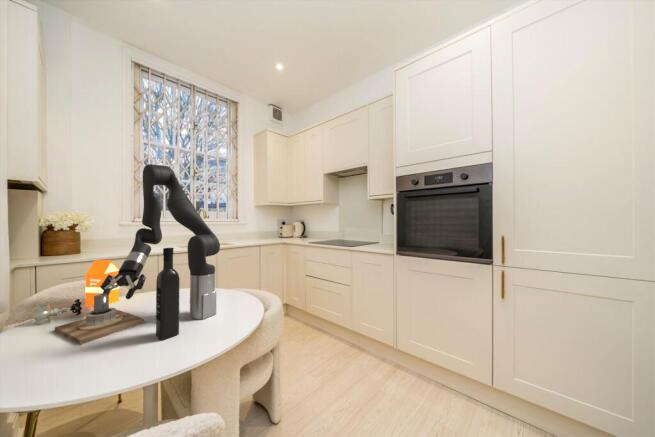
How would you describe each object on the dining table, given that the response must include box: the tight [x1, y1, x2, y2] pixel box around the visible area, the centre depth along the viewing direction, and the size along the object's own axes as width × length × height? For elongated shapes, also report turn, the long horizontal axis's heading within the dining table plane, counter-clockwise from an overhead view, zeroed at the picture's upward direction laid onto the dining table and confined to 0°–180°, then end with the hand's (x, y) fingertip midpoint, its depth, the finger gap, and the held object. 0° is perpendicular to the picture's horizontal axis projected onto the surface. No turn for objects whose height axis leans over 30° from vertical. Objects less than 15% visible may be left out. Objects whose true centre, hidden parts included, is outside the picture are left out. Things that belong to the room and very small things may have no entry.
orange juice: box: [84, 259, 120, 307], centre depth 112 cm, size 8×9×20 cm
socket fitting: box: [54, 307, 145, 346], centre depth 88 cm, size 20×18×6 cm
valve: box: [33, 298, 83, 326], centre depth 94 cm, size 7×7×12 cm
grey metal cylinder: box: [93, 293, 110, 315], centre depth 88 cm, size 4×4×10 cm
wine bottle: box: [155, 247, 181, 341], centre depth 82 cm, size 6×6×30 cm
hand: (115, 298), depth 95 cm, fingers open, 8 cm apart
